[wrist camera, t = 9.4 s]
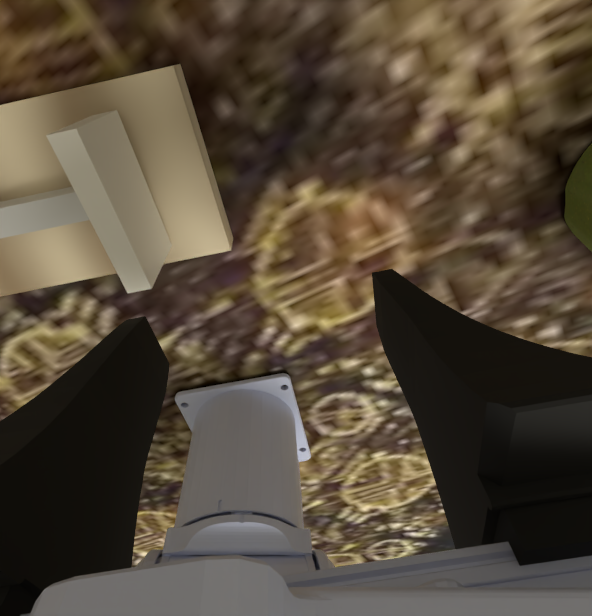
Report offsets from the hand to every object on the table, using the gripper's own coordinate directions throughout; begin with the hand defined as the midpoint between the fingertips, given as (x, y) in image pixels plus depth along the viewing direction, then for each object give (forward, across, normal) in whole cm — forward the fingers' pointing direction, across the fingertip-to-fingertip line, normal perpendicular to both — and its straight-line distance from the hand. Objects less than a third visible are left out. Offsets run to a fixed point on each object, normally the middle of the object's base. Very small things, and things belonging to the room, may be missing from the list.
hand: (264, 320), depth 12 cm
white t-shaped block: (+8, +9, -3) cm, 12 cm away
